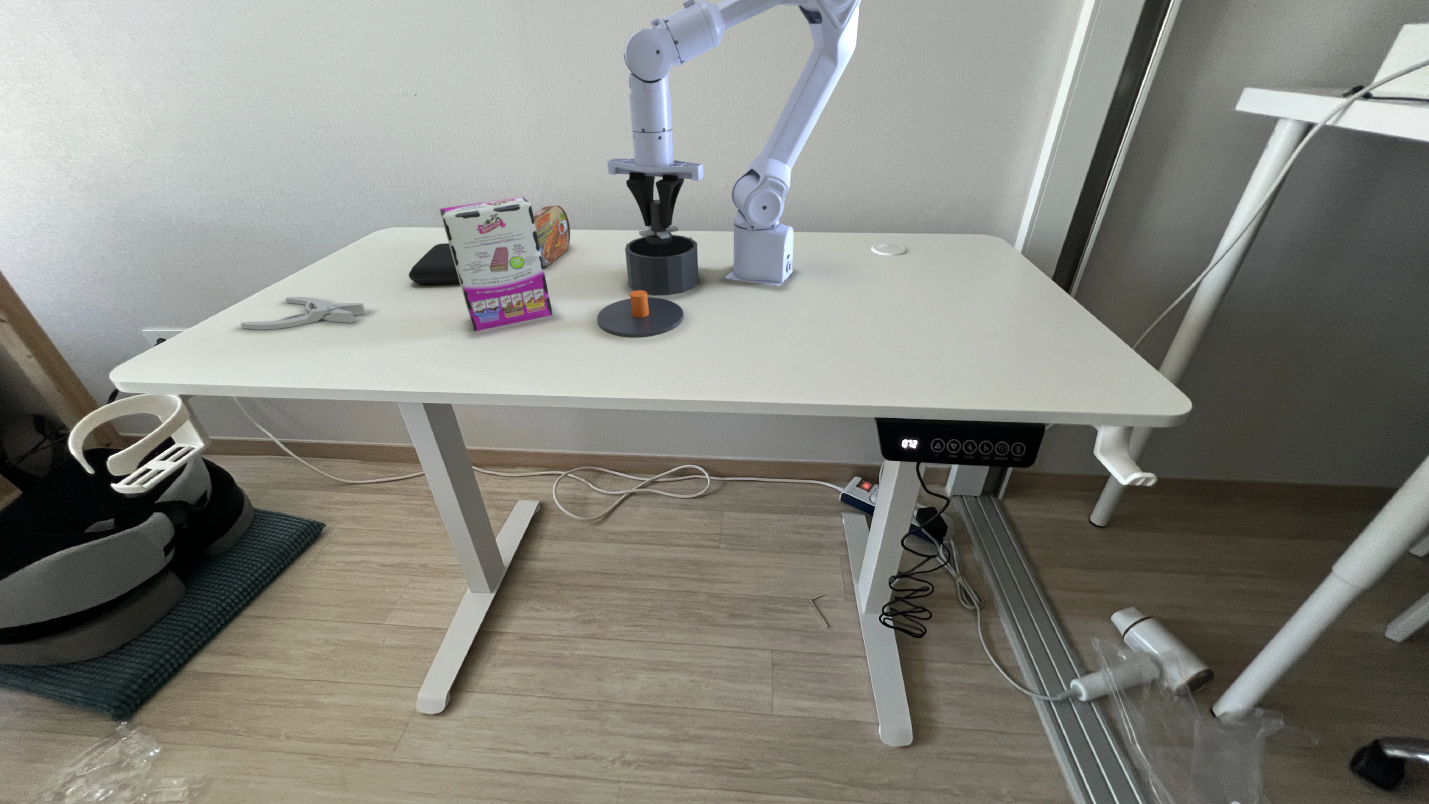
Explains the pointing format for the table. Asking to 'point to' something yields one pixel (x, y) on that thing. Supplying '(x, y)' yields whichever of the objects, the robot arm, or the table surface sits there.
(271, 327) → the pliers
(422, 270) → the carrying case
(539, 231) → the tin
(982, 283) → the table surface
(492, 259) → the candy bar box
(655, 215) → the blade
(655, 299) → the lid
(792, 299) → the table surface
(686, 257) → the dark grey pot
